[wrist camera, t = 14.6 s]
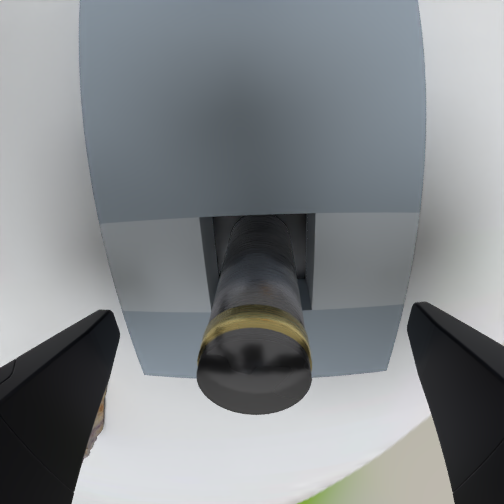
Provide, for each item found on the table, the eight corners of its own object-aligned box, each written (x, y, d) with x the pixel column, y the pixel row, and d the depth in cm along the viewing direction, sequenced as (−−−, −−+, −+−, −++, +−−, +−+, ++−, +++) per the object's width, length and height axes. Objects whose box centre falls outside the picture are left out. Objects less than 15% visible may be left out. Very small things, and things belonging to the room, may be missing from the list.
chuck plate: (156, 343, 17) (144, 374, 15) (120, -111, 6) (102, -132, 4) (374, 338, 16) (386, 370, 14) (359, -128, 5) (370, -151, 3)
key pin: (231, 269, 15) (203, 414, 7) (226, 212, 14) (184, 337, 6) (291, 267, 15) (309, 413, 7) (291, 210, 13) (318, 335, 6)
